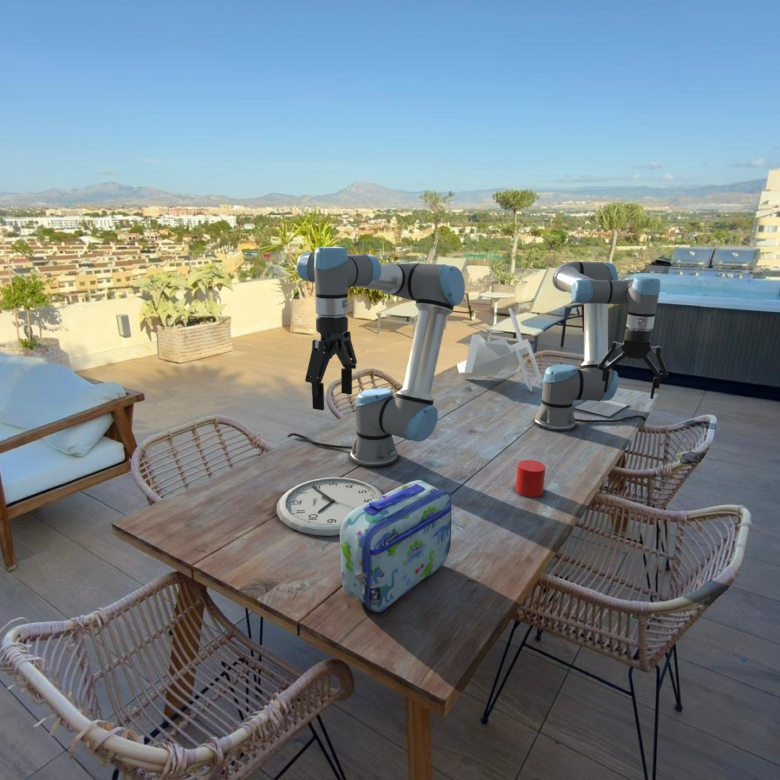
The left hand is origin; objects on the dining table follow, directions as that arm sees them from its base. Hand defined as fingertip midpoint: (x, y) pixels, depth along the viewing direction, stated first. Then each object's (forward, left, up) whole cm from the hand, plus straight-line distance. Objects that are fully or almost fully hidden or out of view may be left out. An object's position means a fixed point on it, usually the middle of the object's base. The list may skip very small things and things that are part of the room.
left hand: (333, 401), depth 129 cm
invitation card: (+58, +128, -32) cm, 144 cm away
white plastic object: (+9, +138, -32) cm, 142 cm away
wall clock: (-3, +4, -32) cm, 32 cm away
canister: (+44, +37, -32) cm, 65 cm away
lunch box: (+26, -18, -32) cm, 45 cm away
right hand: (+67, +71, -9) cm, 98 cm away
